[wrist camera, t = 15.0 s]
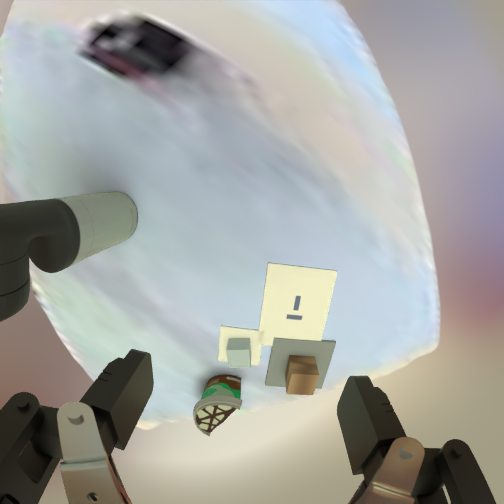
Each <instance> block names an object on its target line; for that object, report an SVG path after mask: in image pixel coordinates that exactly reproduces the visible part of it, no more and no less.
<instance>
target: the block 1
mask: <svg viewBox="0 0 504 504" xmlns="http://www.w3.org/2000/svg"><path fill="white" fill-rule="evenodd" d="M226 353H227V360H228V368H246V367H251V343H250V338H229V339H228V344H227V348H226Z"/></svg>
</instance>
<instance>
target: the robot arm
mask: <svg viewBox="0 0 504 504" xmlns="http://www.w3.org/2000/svg"><path fill="white" fill-rule="evenodd" d="M137 220H138V217H137V210H136V207H135V204H134V203H133V201H132V200H131V198H129V197H128V196H127V195H126V194H124V193H121V192H107V193H96V194H87V195H78V196H70V197H63V198H56V199H48V200H35V201H25V202H18V203H9V204H0V322H1V321H3V320H5V319H7V318H9V317H11V316H12V315H14V314H16V313H17V312H18V311H20V310H21V309H22V308H23V307H24V306H25V304H26V303H27V301H28V298H29V291H30V275H29V257H30V259H31V261H32V262H33V263H34V264H35V265H36V266H37V267H38V268H39V269H41V270H42V271H45V272H48V273H55V272H58V271H61V270H63V269H65V268H67V267H69V266H71V265H73V264H75V263H77V262H79V261H81V260H83V259H85V258H87V257H90V256H92V255H94V254H96V253H98V252H100V251H102V250H105V249H107V248H109V247H111V246H113V245H116V244H118V243H120V242H122V241H125V240H127V239H128V238H129V237H130V236H131V235H132V234H133V233H134V231H135V229H136V226H137ZM153 383H154V381H153V372H152V363H151V355H150V353H147V352H143V351H139V350H135V349H131V350H130V351H129V353H128V354H127V355H126V357H125V358H124V359H122V358H117V359H115V360H114V361H112V362H110V363H109V364H108V365H107V366H106V368H105V369H104V370H103V373H101V374H100V375H99V376H98V379H96V380H95V382H94V383H93V384H92V386H91V387H90V388H89V389H88V391H87V392H86V393H85V395H84V396H83V397H82V399H81V400H80V401H79V402H69V403H67V404H65V405H63V406H62V407H61V408H60V409H58V408H52V407H47V406H41V405H40V403H39V401H38V399H37V398H36V397H35V396H34V395H33V394H31V393H28V392H21V393H17V394H15V395H14V396H13V397H11V398H10V400H9V401H8V402H7V403H6V404H5V405H4V407H3V408H2V409H1V410H0V504H38V502H39V500H40V498H41V496H42V494H43V492H44V490H45V488H46V486H47V484H48V482H49V480H50V478H51V476H52V474H53V472H54V470H55V468H56V466H57V465H58V463H59V461H60V459H63V460H64V462H61V463H60V470H61V475H62V479H63V483H64V487H65V491H66V495H67V498H68V502H69V504H132V502H131V500H130V498H129V497H128V495H127V493H126V490H125V488H124V486H123V483H122V481H121V479H120V476H119V474H118V471H117V469H116V466H115V463H114V461H113V458H112V456H111V453H112V451H113V449H114V447H115V448H118V449H121V450H124V449H125V447H126V445H127V443H128V441H129V438H130V437H131V434H132V432H133V430H134V428H135V426H136V424H137V422H138V420H139V418H140V416H141V414H142V412H143V410H144V408H145V406H146V404H147V402H148V400H149V398H150V396H151V394H152V390H153ZM337 416H338V419H339V423H340V427H341V430H342V434H343V438H344V442H345V445H346V449H347V453H348V457H349V460H350V465H351V469H352V473H353V475H357V474H363V475H364V480H363V481H362V482H361V484H360V486H359V487H358V489H357V490H356V492H355V494H354V495H353V497H352V499H351V500H350V502H349V503H348V504H448V502H447V499H446V496H445V493H444V491H443V488H442V487H443V486H444V485H445V486H446V489H447V492H448V495H449V497H450V500H451V504H496V502H495V500H494V497H493V495H492V493H491V491H490V488H489V486H488V484H487V482H486V480H485V477H484V475H483V473H482V471H481V469H480V467H479V465H478V463H477V461H476V459H475V457H474V455H473V453H472V452H471V450H470V448H469V446H468V445H467V444H466V443H465V442H463V441H461V440H458V439H453V440H449V441H447V442H446V443H445V445H444V446H443V447H442V448H441V449H439V448H424V447H423V445H422V444H421V443H420V442H419V441H417V440H416V439H414V438H411V437H407V436H406V434H405V432H404V430H403V428H402V425H401V423H400V421H399V419H398V417H397V415H396V413H395V412H394V409H393V407H392V405H390V401H389V399H388V397H387V395H386V394H385V393H384V392H383V391H382V390H381V389H380V388H378V387H374V386H373V384H372V382H371V380H370V378H369V377H368V376H350V377H349V378H348V380H347V382H346V385H345V387H344V390H343V392H342V395H341V397H340V400H339V402H338V406H337ZM28 441H29V442H28ZM26 444H27V445H26ZM24 447H25V448H24ZM22 450H23V451H22ZM21 452H22V453H21ZM19 455H20V456H19Z"/></svg>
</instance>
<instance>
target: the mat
mask: <svg viewBox="0 0 504 504" xmlns="http://www.w3.org/2000/svg"><path fill="white" fill-rule="evenodd" d="M335 344H336V341H326V340H321V341H313V340H299V339H287V338H276V337H274V341H273V346H272V351H271V356H270V362H269V367H268V372H267V377H266V382H265V386H278V387H286V381H285V372H286V367H287V363H288V358H289V355H299V356H315V360H316V364H317V368H318V371H319V378H318V381H317V384H316V388H322V385H323V382H324V379H325V376H326V373H327V370H328V367H329V364H330V361H331V358H332V354H333V351H334V348H335Z"/></svg>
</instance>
